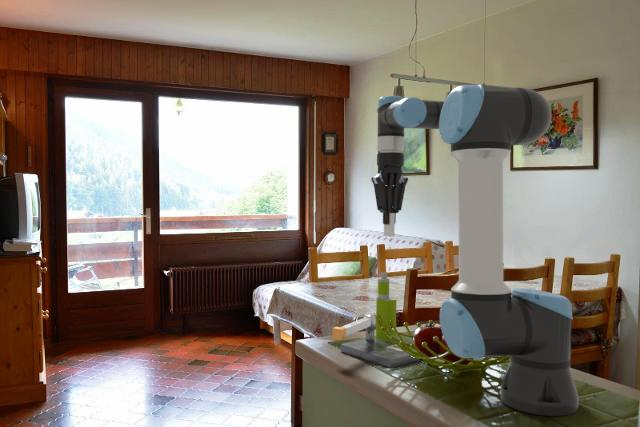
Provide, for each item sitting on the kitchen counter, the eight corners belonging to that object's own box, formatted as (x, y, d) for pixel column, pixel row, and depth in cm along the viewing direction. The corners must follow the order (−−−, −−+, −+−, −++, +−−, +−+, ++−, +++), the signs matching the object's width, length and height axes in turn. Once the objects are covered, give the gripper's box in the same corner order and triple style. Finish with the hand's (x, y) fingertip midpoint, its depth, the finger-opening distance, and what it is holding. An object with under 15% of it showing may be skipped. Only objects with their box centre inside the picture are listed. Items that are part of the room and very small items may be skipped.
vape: (380, 339, 171) (382, 270, 170) (397, 342, 167) (399, 273, 166) (373, 341, 168) (374, 272, 167) (390, 345, 164) (391, 274, 163)
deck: (422, 359, 151) (422, 339, 151) (390, 367, 144) (390, 346, 143) (372, 344, 165) (372, 325, 165) (340, 351, 157) (340, 332, 157)
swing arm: (342, 343, 145) (342, 329, 145) (331, 341, 147) (331, 327, 147) (377, 327, 162) (378, 314, 162) (367, 325, 164) (367, 313, 163)
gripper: (396, 153, 172) (394, 234, 173) (364, 151, 164) (363, 236, 165) (416, 153, 166) (414, 235, 168) (384, 150, 158) (382, 238, 159)
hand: (388, 235), depth 166 cm, fingers closed
